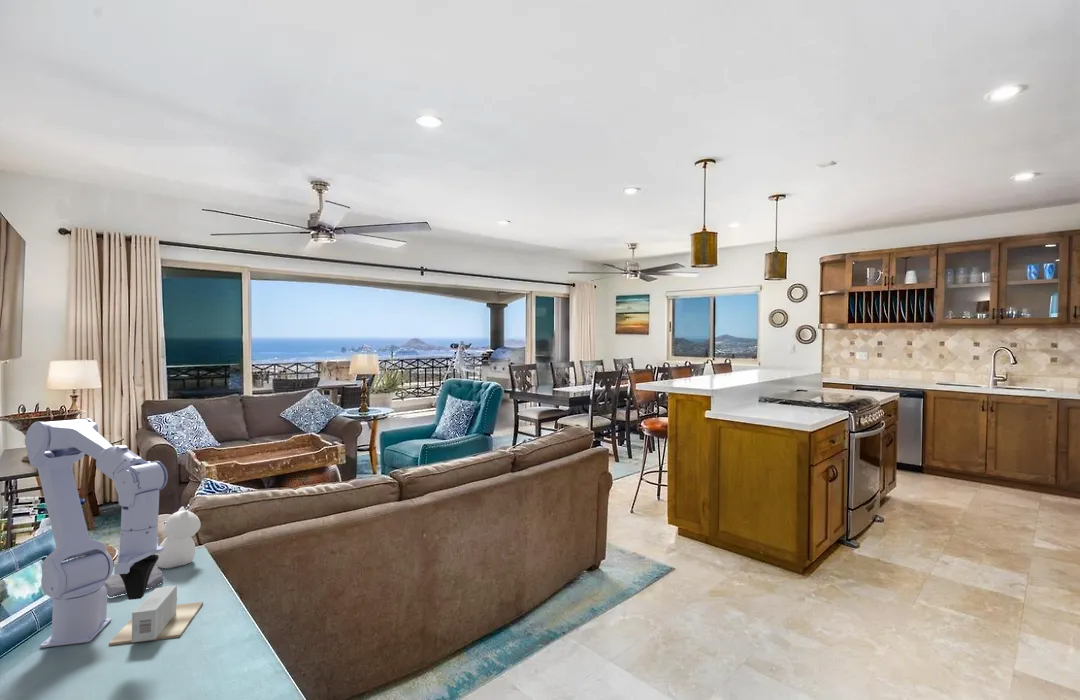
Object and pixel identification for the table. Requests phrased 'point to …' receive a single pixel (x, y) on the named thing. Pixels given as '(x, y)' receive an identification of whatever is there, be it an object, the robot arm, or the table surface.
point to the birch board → (171, 629)
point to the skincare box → (154, 614)
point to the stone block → (117, 585)
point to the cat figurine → (179, 539)
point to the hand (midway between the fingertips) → (136, 597)
